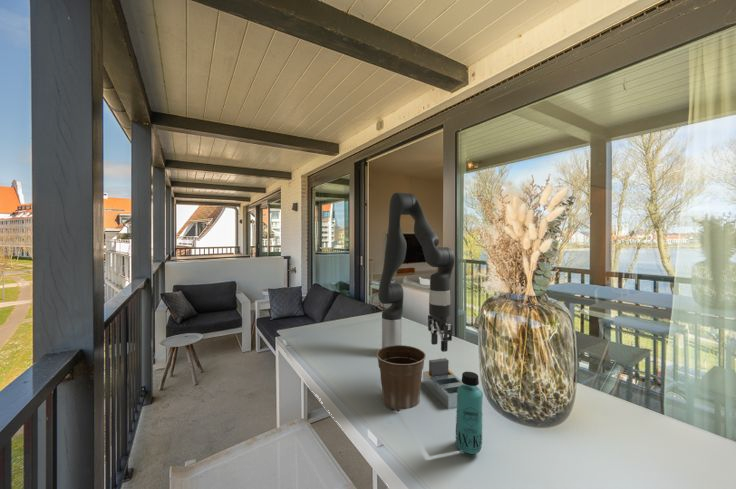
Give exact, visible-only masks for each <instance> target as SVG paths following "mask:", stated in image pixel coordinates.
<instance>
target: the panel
mask: <svg viewBox="0 0 736 489" xmlns="http://www.w3.org/2000/svg"><path fill="white" fill-rule="evenodd" d="M448 370H449V359H447V358H446V357H445V358H437V359H429V360H428V371H429V374H430V375H431V377H436V376H443V375H448Z"/></svg>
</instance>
